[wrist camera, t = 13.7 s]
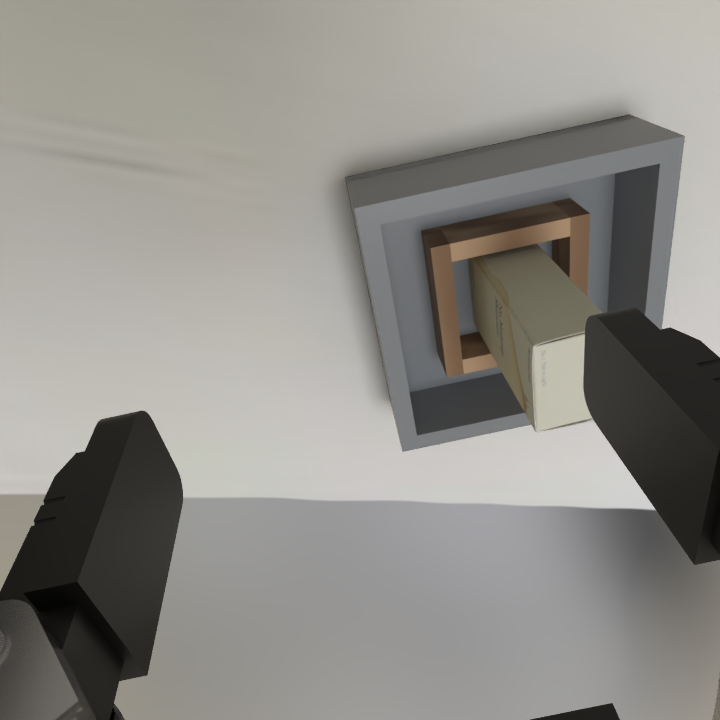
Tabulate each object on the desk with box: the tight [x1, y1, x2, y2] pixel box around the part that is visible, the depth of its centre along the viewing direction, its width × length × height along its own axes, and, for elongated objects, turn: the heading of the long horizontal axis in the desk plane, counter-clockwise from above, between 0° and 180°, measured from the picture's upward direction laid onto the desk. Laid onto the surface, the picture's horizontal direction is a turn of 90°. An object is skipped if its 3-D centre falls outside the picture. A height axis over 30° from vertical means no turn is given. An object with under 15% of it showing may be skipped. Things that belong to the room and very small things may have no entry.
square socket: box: [421, 198, 590, 377], centre depth 39 cm, size 10×10×3 cm
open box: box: [345, 115, 685, 452], centre depth 39 cm, size 18×18×6 cm
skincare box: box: [468, 244, 602, 432], centre depth 35 cm, size 6×4×12 cm
